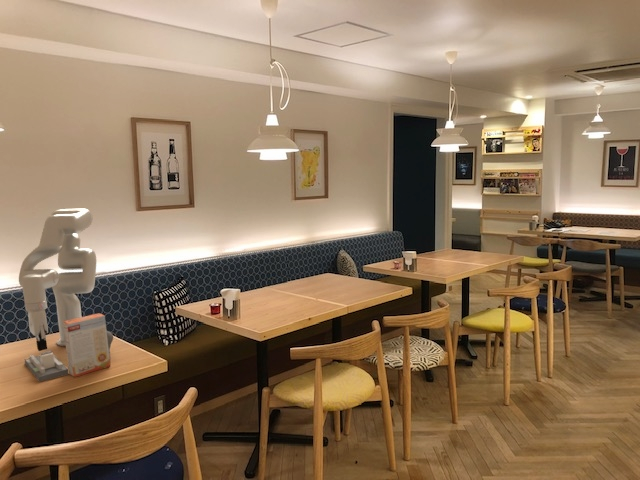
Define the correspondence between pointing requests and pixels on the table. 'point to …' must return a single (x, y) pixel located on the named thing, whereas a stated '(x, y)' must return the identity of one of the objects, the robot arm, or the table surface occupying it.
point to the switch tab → (47, 359)
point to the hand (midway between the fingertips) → (42, 349)
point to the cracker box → (86, 344)
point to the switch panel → (43, 373)
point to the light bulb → (109, 339)
